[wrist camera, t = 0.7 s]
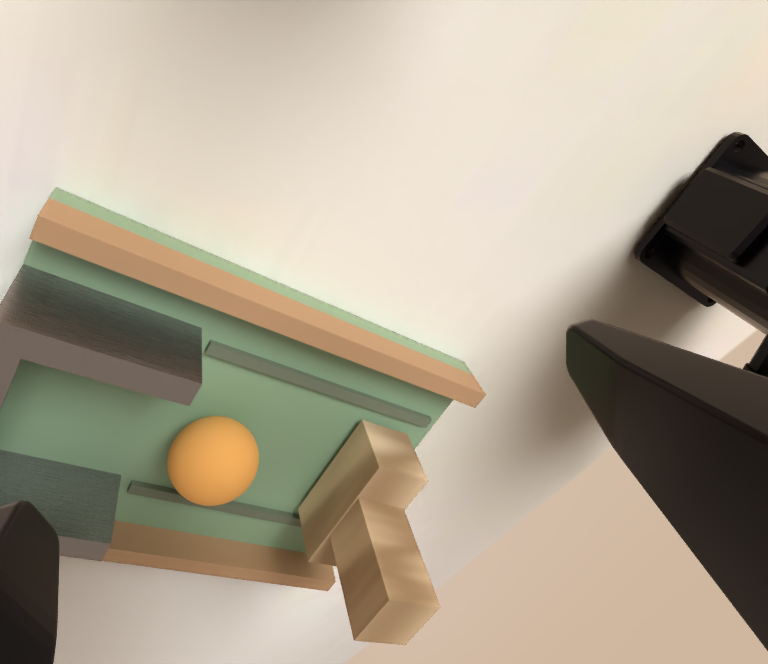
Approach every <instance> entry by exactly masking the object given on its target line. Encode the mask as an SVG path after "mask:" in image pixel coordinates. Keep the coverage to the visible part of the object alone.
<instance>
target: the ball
mask: <svg viewBox="0 0 768 664" xmlns="http://www.w3.org/2000/svg"><path fill="white" fill-rule="evenodd" d="M258 465H259V451H258V446H257V443H256V441H255V439H254V437H253V435H252V434H251V432H250V431H249V430H248V429H247V428H246V427H245V426H244V425H243V424H241V423H240V422H238V421H236V420H234V419H231V418H229V417H224V416H208V417H204V418H200V419H198V420H195V421H194V422H192V423H190V424H189V425H187V426H186V427H185V428H183V429H182V430H181V431H180V433H179V434H178V435H177V436H176V438H175V439H174V441H173V443H172V445H171V447H170V450H169V453H168V460H167V468H168V474H169V477H170V480H171V482H172V484H173V486H174V487H175V489H176V490H177V491H178V493H179V494H181V495H182V496H183V497H184V498H186V499H187V500H189V501H191V502H193V503H196V504H199V505H204V506H216V505H222V504H225V503H228V502H230V501H232V500H234V499H236V498H237V497H239V496H240V495H241V494H243V493H244V492H245V491H246V490H247V488H248V487H249V486H250V485H251V483H252V481H253V480H254V478H255V475H256V473H257V470H258Z"/></svg>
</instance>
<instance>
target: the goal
mask: <svg viewBox="0 0 768 664" xmlns="http://www.w3.org/2000/svg"><path fill="white" fill-rule="evenodd" d="M22 359H23V360H27V361H31V362H34V363H38V364H41V365H45V366H48V367H52V368H55V369H59V370H62V371H66V372H69V373H73V374H76V375H80V376H83V377H87V378H90V379H94V380H97V381H101V382H105V383H108V384H112V385H115V386H119V387H122V388H126V389H129V390H133V391H136V392H140V393H143V394H147V395H150V396H154V397H157V398H161V399H164V400H168V401H172V402H175V403H179V404H182V405H186V406H190V405H191V403H192V401H193V399H194V398H195V396H196V394H197V392H198V391H199V389H200V387H201V385H202V328H201V327H198V326H195V325H193V324H190V323H187V322H184V321H181V320H179V319H176V318H173V317H170V316H168V315H165V314H162V313H159V312H156V311H154V310H151V309H148V308H145V307H142V306H140V305H137V304H134V303H131V302H128V301H126V300H123V299H120V298H117V297H114V296H112V295H109V294H106V293H103V292H100V291H98V290H95V289H92V288H89V287H87V286H84V285H81V284H78V283H75V282H73V281H70V280H67V279H64V278H61V277H59V276H56V275H53V274H50V273H47V272H45V271H42V270H39V269H36V268H33V267H31V266H28V265H25V264H23V266H22V267H21V269H20V271H19V273H18V274H17V276H16V278H15V279H14V281H13V283H12V285H11V286H10V288H9V290H8V292H7V293H6V295H5V297H4V299H3V300H2V302H1V304H0V411H1V409H2V406H3V404H4V401H5V399H6V397H7V394H8V392H9V389H10V387H11V385H12V382H13V380H14V378H15V375H16V373H17V370H18V368H19V366H20V363H21V361H22ZM120 481H121V475H119V474H114V473H110V472H105V471H100V470H95V469H91V468H86V467H81V466H76V465H71V464H67V463H62V462H57V461H52V460H48V459H43V458H38V457H33V456H29V455H24V454H19V453H14V452H10V451H5V450H0V507H1V506H4V505H7V504H11V503H14V502H17V501H20V500H26V501H29V502H31V503H32V504H33V505H34V506H35V507H36V508H37V510H38V511H39V512H40V513H41V514H42V515H43V516H44V518H45V519H46V520H47V521H48V522H49V523H50V524H51V525H52V527H53V528H54V529H55V531H56V533H57V535H58V538H59V545H60V548H59V555H61V556H68V557H75V558H83V559H90V560H98V561H102V559H103V557H104V555H105V554H106V552H107V550H108V548H109V547H110V545H111V541H112V534H113V528H114V521H115V514H116V507H117V501H118V494H119V487H120Z"/></svg>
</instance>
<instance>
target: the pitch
mask: <svg viewBox="0 0 768 664" xmlns="http://www.w3.org/2000/svg"><path fill="white" fill-rule="evenodd" d="M29 239H32V240H33V241H32V243H31V246H30V248H29V251H28V254H27V256H26V259H25V261H24V264H25V265H28V266H31V267H33V268H36V269H39V270H42V271H45V272H47V273H50V274H53V275H56V276H59V277H61V278H64V279H67V280H70V281H73V282H75V283H78V284H81V285H84V286H87V287H89V288H92V289H95V290H98V291H100V292H103V293H106V294H109V295H112V296H114V297H117V298H120V299H123V300H126V301H128V302H131V303H134V304H137V305H140V306H142V307H145V308H148V309H151V310H154V311H156V312H159V313H162V314H165V315H168V316H170V317H173V318H176V319H179V320H181V321H184V322H187V323H190V324H193V325H195V326H198V327H201V328H202V385H201V387H200V389H199V391H198V392H197V394H196V396H195V398H194V399H193V401H192V403H191V405H190V406H186V405H182V404H179V403H175V402H172V401H168V400H164V399H161V398H157V397H154V396H150V395H147V394H143V393H140V392H136V391H133V390H129V389H126V388H122V387H119V386H115V385H112V384H108V383H105V382H101V381H97V380H94V379H90V378H87V377H83V376H80V375H76V374H73V373H69V372H66V371H62V370H59V369H55V368H52V367H48V366H45V365H41V364H38V363H34V362H31V361H27V360H23V359H22V361H21V363H20V366H19V368H18V370H17V373H16V375H15V378H14V380H13V382H12V385H11V387H10V389H9V392H8V394H7V397H6V399H5V401H4V404H3V406H2V409H1V411H0V450H5V451H10V452H14V453H19V454H24V455H29V456H33V457H38V458H43V459H48V460H52V461H57V462H62V463H67V464H71V465H76V466H81V467H86V468H91V469H95V470H100V471H105V472H110V473H114V474H119V475H121V481H120V487H119V494H118V501H117V507H116V514H115V521H114V528H113V534H112V541H111V545H110V547H109V548H108V550H107V552H106V554H105V555H104V557H103V559H102V560H103V561H110V562H117V563H125V564H132V565H140V566H147V567H154V568H162V569H169V570H176V571H184V572H191V573H199V574H206V575H213V576H221V577H228V578H235V579H243V580H250V581H258V582H265V583H272V584H280V585H287V586H294V587H302V588H309V589H317V590H324V591H328V590H329V589H330V588H331V587H332V585H333V584H334V583H335V582H336V581H335V576H334V572H333V567H332V566H331V565H325V564H319V563H313V562H308V560H307V555H306V549H305V544H304V539H303V533H302V528H301V522H300V517H299V511H298V508H299V507H300V505H301V504H302V503H303V501H304V500H305V498H306V497H307V496H308V494H309V493H310V491H311V490H312V489H313V487H314V486H315V485H316V483H317V482H318V480H319V479H320V478H321V476H322V475H323V473H324V472H325V471H326V469H327V468H328V466H329V465H330V464H331V462H332V461H333V460H334V458H335V457H336V455H337V454H338V453H339V451H340V450H341V448H342V447H343V446H344V444H345V443H346V441H347V440H348V439H349V437H350V436H351V434H352V433H353V432H354V430H355V429H356V428H357V426H358V425H359V423H360V422H361V421H362V420H365V421H368V422H371V423H374V424H377V425H381V426H384V427H387V428H390V429H393V430H396V431H399V432H402V433H405V434H407V435H408V437H409V439H410V441H411V444H412V446H413V448H414V449H415V448H416V447H417V445H418V444H419V443H420V441H421V440H422V439H423V438H424V436H425V435H426V434H427V432H428V431H429V430H430V429H431V427H432V426H433V425H434V424H435V422H436V421H437V420H438V418H439V417H440V416H441V415H442V413H443V412H444V411H445V409H446V408H447V407H448V406H449V404H450V403H451V402H452V400H456V401H459V402H461V403H464V404H466V405H469V406H472V407H474V408H476V406H477V405H478V404H479V403H480V401H481V400H482V399H483V398H484V396H485V395H486V394H485V393H484V391H483V390H482V388H481V387H480V385H479V384H478V382H477V380H476V379H475V377H474V376H473V374H472V373H471V371H470V370H469V368H468V367H467V365H466V364H465V362H463V361H460V360H458V359H456V358H453V357H451V356H449V355H446V354H444V353H442V352H439V351H437V350H435V349H432V348H430V347H428V346H425V345H423V344H421V343H418V342H416V341H414V340H411V339H409V338H407V337H404V336H402V335H400V334H397V333H395V332H393V331H390V330H388V329H386V328H383V327H381V326H379V325H376V324H374V323H372V322H369V321H367V320H364V319H362V318H360V317H357V316H355V315H353V314H350V313H348V312H346V311H343V310H341V309H339V308H336V307H334V306H332V305H329V304H327V303H325V302H322V301H320V300H318V299H315V298H313V297H311V296H308V295H306V294H304V293H301V292H299V291H297V290H294V289H292V288H290V287H287V286H285V285H283V284H280V283H278V282H276V281H273V280H271V279H269V278H266V277H264V276H262V275H259V274H257V273H255V272H252V271H250V270H248V269H245V268H243V267H241V266H238V265H236V264H234V263H231V262H229V261H227V260H224V259H222V258H220V257H217V256H215V255H213V254H210V253H208V252H206V251H203V250H201V249H199V248H196V247H194V246H192V245H189V244H187V243H185V242H182V241H180V240H178V239H175V238H173V237H171V236H168V235H166V234H164V233H161V232H159V231H157V230H154V229H152V228H150V227H147V226H145V225H143V224H140V223H138V222H136V221H133V220H131V219H129V218H126V217H124V216H122V215H119V214H117V213H115V212H112V211H110V210H108V209H105V208H103V207H101V206H98V205H96V204H94V203H91V202H89V201H87V200H84V199H82V198H80V197H77V196H75V195H73V194H70V193H68V192H66V191H63V190H61V189H59V188H55V189H54V191H53V193H52V194H51V196H50V197H49V199H48V201H47V202H46V204H45V205H44V207H43V209H42V210H41V212H40V213H39V215H38V217H37V220H36V222H35V225H34V228H33V230H32V233H31V235H30V238H29ZM208 416H224V417H229V418H231V419H234V420H236V421H238V422H240V423H241V424H243V425H244V426H245V427H246V428H247V429H248V430H249V431H250V432H251V434H252V435H253V437H254V439H255V441H256V443H257V446H258V451H259V465H258V470H257V473H256V475H255V478H254V480H253V481H252V483H251V485H250V486H249V487H248V488H247V490H246V491H245V492H244V493H243V494H241V495H240V496H239V497H237V498H236V499H234V500H232V501H230V502H228V503H225V504H222V505H216V506H204V505H199V504H196V503H193V502H191V501H189V500H187V499H186V498H184V497H183V496H182V495H181V494H179V493H178V491H177V490H176V489H175V487H174V486H173V484H172V482H171V480H170V477H169V474H168V468H167V460H168V453H169V450H170V447H171V445H172V443H173V441H174V439H175V438H176V436H177V435H178V434H179V433H180V431H181V430H182V429H183V428H185V427H186V426H187V425H189V424H190V423H192V422H194V421H195V420H198V419H200V418H204V417H208Z"/></svg>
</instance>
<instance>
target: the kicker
mask: <svg viewBox="0 0 768 664" xmlns="http://www.w3.org/2000/svg"><path fill="white" fill-rule="evenodd" d="M427 482H428V480H427V478H426V475H425V473H424V471H423V469H422V466H421V464H420V462H419V460H418V457H417V455H416V453H415V450H414V448H413V446H412V444H411V441H410V439H409V437H408V435H407V434H405V433H402V432H399V431H396V430H393V429H390V428H387V427H384V426H381V425H377V424H374V423H371V422H368V421H365V420H362V421H361V422H360V423H359V425H358V426H357V428H356V429H355V430H354V432H353V433H352V434H351V436H350V437H349V439H348V440H347V441H346V443H345V444H344V446H343V447H342V448H341V450H340V451H339V453H338V454H337V455H336V457H335V458H334V460H333V461H332V462H331V464H330V465H329V466H328V468H327V469H326V471H325V472H324V473H323V475H322V476H321V478H320V479H319V480H318V482H317V483H316V485H315V486H314V487H313V489H312V490H311V491H310V493H309V494H308V496H307V497H306V498H305V500H304V501H303V503H302V504H301V505H300V507H299V508H298V511H299V517H300V522H301V528H302V533H303V539H304V544H305V549H306V555H307V560H308V562H313V563H319V564H325V565H331V566H337V568H338V573H339V577H340V581H341V586H342V590H343V594H344V599H345V603H346V608H347V612H348V616H349V621H350V625H351V629H352V634H353V638H354V641H365V642H377V643H389V644H401V645H406V644H407V643H408V642H409V640H410V639H411V638H412V637H413V636H414V635H415V634H416V633H417V632H418V631H419V630H420V629H421V627H422V626H423V625H424V624H425V623H426V622H427V621H428V620H429V619H430V618H431V617H432V616H433V614H434V613H435V612H436V611H437V610H438V609H439V608H440V605H439V602H438V599H437V597H436V594H435V591H434V589H433V586H432V583H431V581H430V578H429V575H428V573H427V570H426V567H425V565H424V562H423V559H422V557H421V554H420V551H419V549H418V546H417V543H416V541H415V538H414V535H413V533H412V530H411V527H410V525H409V522H408V519H407V517H406V514H405V511H404V510H405V509H406V508H407V506H408V505H409V504H410V503H411V501H412V500H413V499H414V498H415V497H416V495H417V494H418V493H419V492H420V490H421V489H422V488H423V487H424V486H425V484H426V483H427Z"/></svg>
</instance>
